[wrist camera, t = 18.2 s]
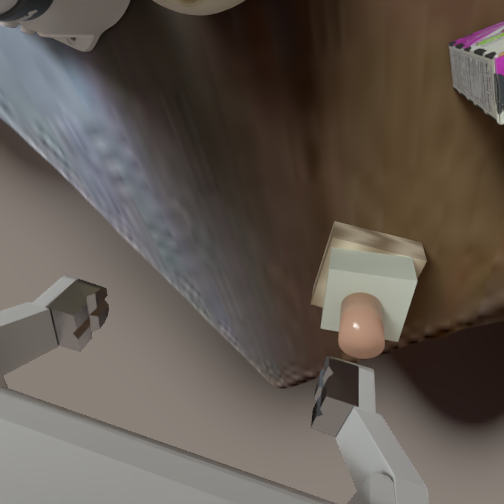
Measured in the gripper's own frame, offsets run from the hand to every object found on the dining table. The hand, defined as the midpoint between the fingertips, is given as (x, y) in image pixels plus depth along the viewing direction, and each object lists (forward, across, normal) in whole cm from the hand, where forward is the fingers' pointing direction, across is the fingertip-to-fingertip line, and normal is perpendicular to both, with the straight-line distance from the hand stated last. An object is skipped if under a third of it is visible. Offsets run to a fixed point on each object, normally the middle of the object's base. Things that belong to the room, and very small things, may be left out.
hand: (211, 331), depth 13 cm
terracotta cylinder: (+28, -12, +20) cm, 36 cm away
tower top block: (+33, -12, +19) cm, 40 cm away
